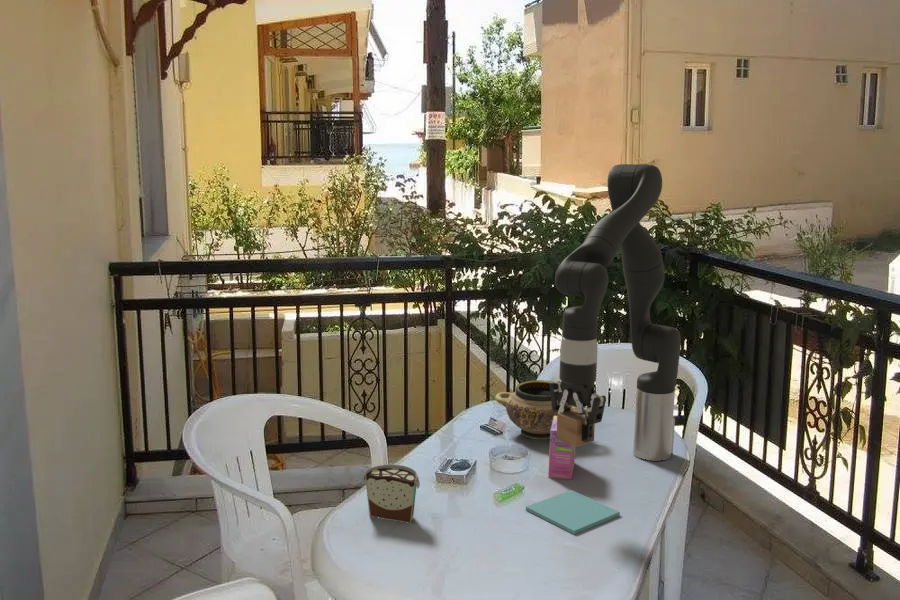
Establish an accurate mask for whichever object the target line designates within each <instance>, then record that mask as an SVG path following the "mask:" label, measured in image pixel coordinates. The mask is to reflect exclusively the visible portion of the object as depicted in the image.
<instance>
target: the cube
mask: <svg viewBox="0 0 900 600" xmlns="http://www.w3.org/2000/svg"><path fill="white" fill-rule="evenodd" d="M586 414H587V413H586ZM587 418H588V414H587ZM582 424H583V422H582V418H581V415H580V414H579V413H578V409H573V410H570V411H566V412H563V413H559V414H557V438H556V439H558V440H560V441H563V442H565V443H568V444H570V445H573V446H575V448H576V447H580V446H582V445H585V444H588V443H591V442H592V443H593V442H594V441H595V429H596V428H595V426H596V425H595V424H593V437H592V439H591V440H590V441H587V442H584V441H582Z"/></svg>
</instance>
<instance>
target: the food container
mask: <svg viewBox="0 0 900 600" xmlns="http://www.w3.org/2000/svg"><path fill="white" fill-rule="evenodd" d="M362 481H365V488H366V496H367V505H368V514H369V517H370V516H373V517H372V518H374V517H379V518H384V519H383V520H385V519H388V520H387V521H391V520H393V521H392V522H397V521H401V522H400V523H403V522H408V523H407V524H409V523H411V524H412V523H413V522H414V514H415V512H414V511H415V504H416V503H415V502H416V494H417V490H418V489H419V488H420V487H421V486H420V485H421V483H420V478H419V476H418V473H417V471H416V470H415V469H413V468H412V467H408V466H405V465H400V464H381V465H377V466H372V467H370V468H368V469H366V470H365V471H364V473H363V478H362ZM379 518H378V519H379ZM412 521H413V522H412Z"/></svg>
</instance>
